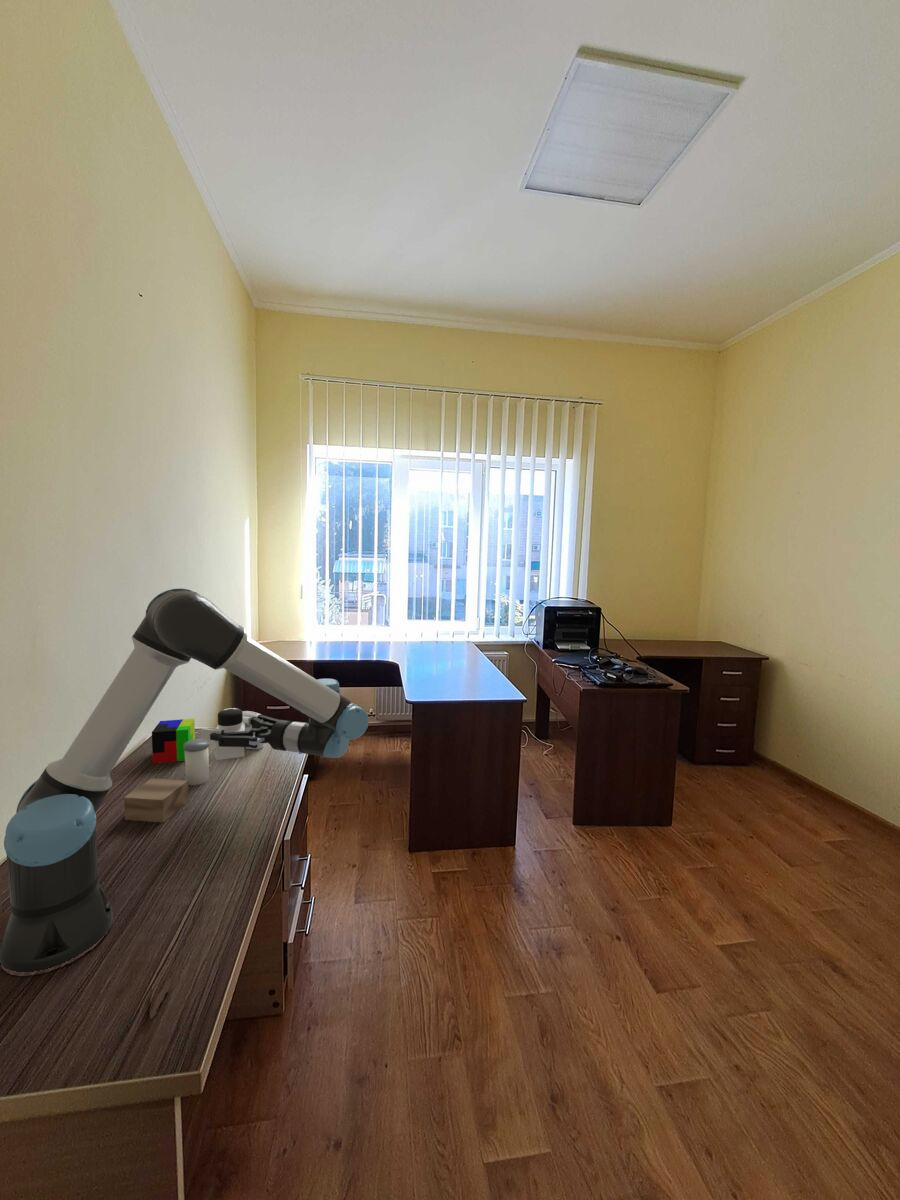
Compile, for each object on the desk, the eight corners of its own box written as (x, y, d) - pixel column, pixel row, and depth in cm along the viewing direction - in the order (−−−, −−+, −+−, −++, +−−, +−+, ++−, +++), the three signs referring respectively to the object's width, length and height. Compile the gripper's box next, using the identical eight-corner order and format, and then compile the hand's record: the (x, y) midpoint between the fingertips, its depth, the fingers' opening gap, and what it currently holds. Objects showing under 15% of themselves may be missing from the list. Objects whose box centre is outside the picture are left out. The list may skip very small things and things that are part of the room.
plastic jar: (198, 787, 137) (197, 748, 136) (179, 783, 138) (178, 746, 137) (214, 776, 143) (213, 740, 142) (196, 773, 145) (195, 737, 143)
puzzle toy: (161, 750, 160) (160, 721, 159) (195, 747, 163) (194, 718, 162) (152, 763, 151) (151, 732, 149) (189, 760, 154) (188, 729, 152)
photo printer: (229, 748, 163) (228, 712, 161) (236, 743, 167) (235, 708, 165) (259, 750, 162) (258, 714, 160) (265, 745, 166) (264, 710, 164)
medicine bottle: (245, 757, 130) (244, 713, 129) (215, 760, 127) (214, 716, 126) (245, 746, 137) (244, 704, 135) (217, 749, 134) (216, 707, 133)
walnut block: (163, 823, 120) (162, 800, 119) (125, 820, 120) (123, 797, 120) (188, 802, 129) (187, 780, 129) (152, 799, 130) (151, 778, 130)
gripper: (264, 768, 117) (185, 756, 122) (312, 734, 138) (243, 725, 143) (263, 738, 116) (184, 727, 121) (312, 708, 137) (243, 700, 143)
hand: (216, 726), depth 132 cm, fingers closed on medicine bottle, 10 cm apart
